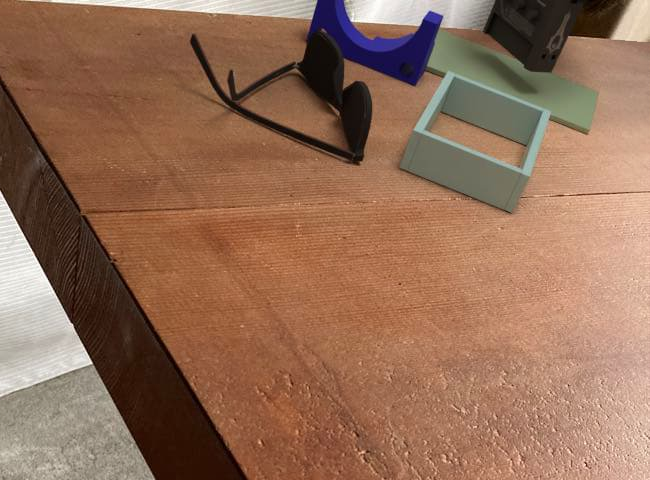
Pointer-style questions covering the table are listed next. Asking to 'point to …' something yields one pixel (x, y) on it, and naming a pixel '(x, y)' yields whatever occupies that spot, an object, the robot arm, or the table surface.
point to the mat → (514, 79)
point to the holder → (469, 165)
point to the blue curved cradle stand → (378, 42)
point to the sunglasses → (327, 81)
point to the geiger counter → (533, 29)
